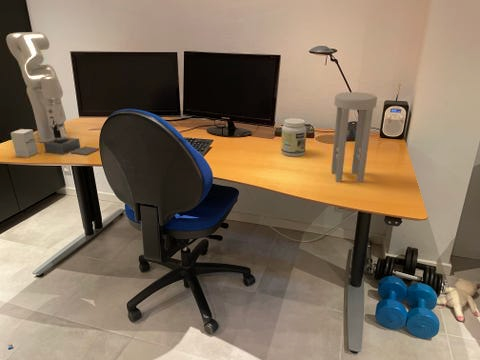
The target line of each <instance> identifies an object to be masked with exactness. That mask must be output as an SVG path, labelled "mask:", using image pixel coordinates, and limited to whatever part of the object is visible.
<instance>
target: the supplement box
mask: <svg viewBox="0 0 480 360" xmlns="http://www.w3.org/2000/svg"><path fill="white" fill-rule="evenodd" d="M10 138H11V141H12V144H13V149H14V152H15V153H14V154H15V157H19V158H30V157H32V156H34V155H35V154H38V153H39V151H38V146H37V141H36V138H35V134H34V130H33V129H24V128H19V129H18V130H15V131H12V132H10Z"/></svg>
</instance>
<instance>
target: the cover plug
mask: <svg viewBox="0 0 480 360" xmlns="http://www.w3.org/2000/svg"><path fill="white" fill-rule="evenodd" d="M56 127H57V126H56ZM64 127H65V123H64V124H63V123H62V124H60V125H59V130H60V134H61V138H55V139H56V143H64V142H66V141H67V139H66V137H67V133H66V134H65V132H66V128H65V129H64Z"/></svg>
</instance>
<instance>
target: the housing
mask: <svg viewBox="0 0 480 360" xmlns="http://www.w3.org/2000/svg"><path fill="white" fill-rule="evenodd" d="M66 139H67V141H66V142H64V143H56V139H54V140H51V141H48V142H43V147H44V150H45V153H48V154H55V155H63V156H64V155H67V154H69V153H71V152H73V151H75V150H77V149H80V148H81V144H80V139H79V138H75V137H67V136H66Z"/></svg>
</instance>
